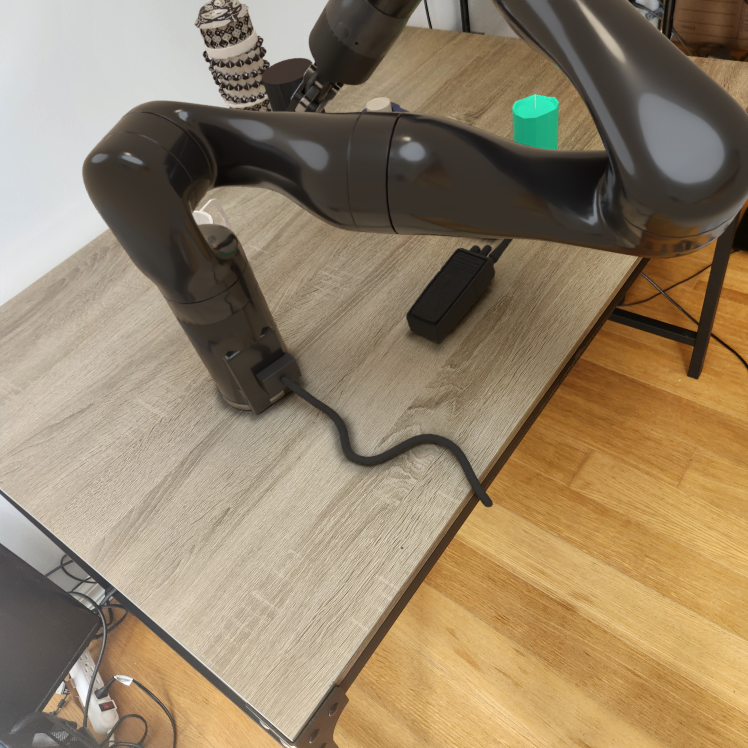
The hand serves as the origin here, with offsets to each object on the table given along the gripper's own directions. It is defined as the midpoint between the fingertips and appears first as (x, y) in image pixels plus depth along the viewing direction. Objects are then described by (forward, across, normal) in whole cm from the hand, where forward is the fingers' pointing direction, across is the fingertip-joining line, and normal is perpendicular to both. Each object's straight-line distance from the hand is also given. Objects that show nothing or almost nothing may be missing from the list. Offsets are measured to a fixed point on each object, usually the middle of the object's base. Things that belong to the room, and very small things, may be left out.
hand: (292, 129), depth 78 cm
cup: (+23, -9, -3) cm, 25 cm away
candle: (-5, +20, -30) cm, 37 cm away
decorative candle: (+27, +20, +1) cm, 34 cm away
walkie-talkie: (-3, -5, -29) cm, 29 cm away
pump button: (+12, +29, -9) cm, 32 cm away
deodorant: (+4, 0, -7) cm, 8 cm away
